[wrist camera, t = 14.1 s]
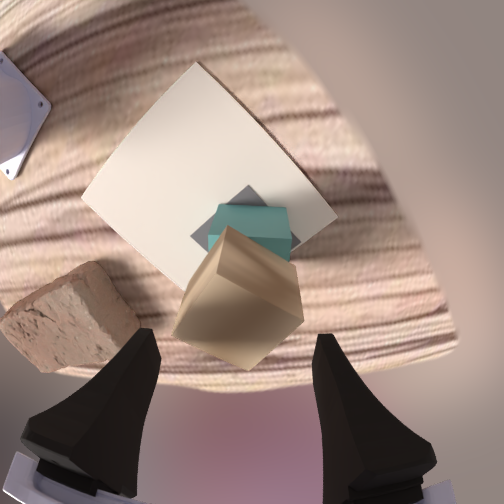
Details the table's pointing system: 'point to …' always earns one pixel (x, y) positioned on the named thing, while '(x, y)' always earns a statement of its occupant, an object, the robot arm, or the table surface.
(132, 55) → the table surface
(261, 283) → the beech block
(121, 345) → the brick
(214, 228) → the teal block
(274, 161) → the plate
